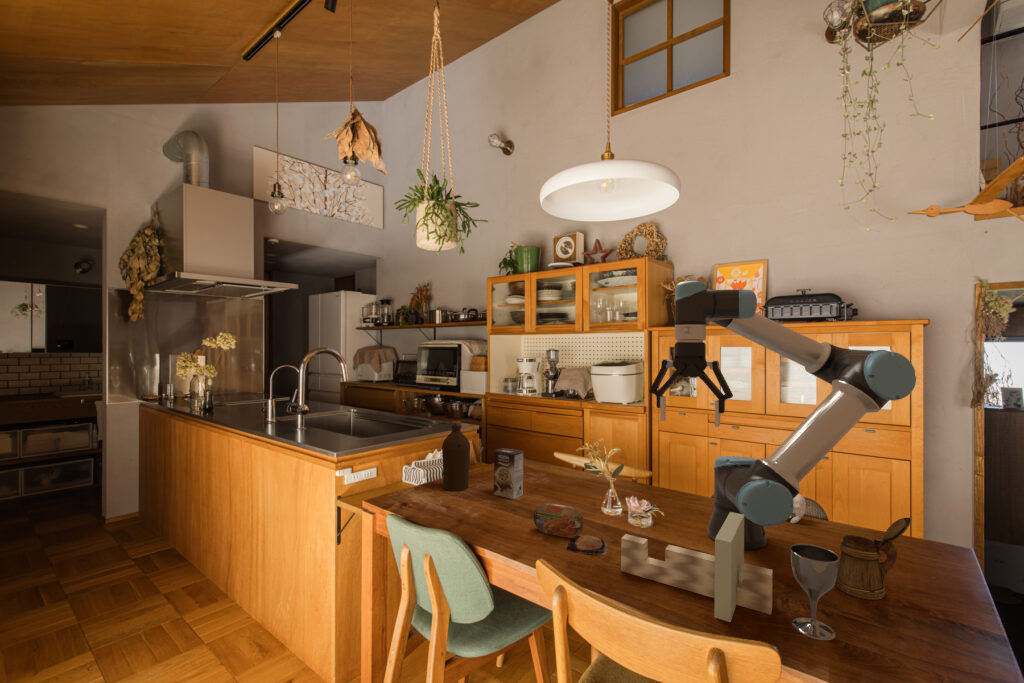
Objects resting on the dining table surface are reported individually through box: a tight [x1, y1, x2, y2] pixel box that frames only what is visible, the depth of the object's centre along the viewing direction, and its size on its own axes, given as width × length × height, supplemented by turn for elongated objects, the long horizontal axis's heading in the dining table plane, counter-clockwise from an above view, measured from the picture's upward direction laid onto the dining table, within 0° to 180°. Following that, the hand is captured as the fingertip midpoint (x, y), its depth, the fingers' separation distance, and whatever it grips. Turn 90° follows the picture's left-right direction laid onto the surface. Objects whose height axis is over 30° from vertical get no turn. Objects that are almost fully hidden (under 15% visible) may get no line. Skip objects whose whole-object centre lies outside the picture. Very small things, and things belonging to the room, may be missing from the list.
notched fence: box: [620, 533, 774, 615], centre depth 106 cm, size 32×3×8 cm, turn 56°
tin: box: [532, 502, 585, 539], centre depth 135 cm, size 15×3×8 cm, turn 63°
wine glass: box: [789, 542, 840, 641], centre depth 91 cm, size 8×8×15 cm
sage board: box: [713, 512, 745, 623], centre depth 101 cm, size 18×3×16 cm, turn 146°
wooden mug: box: [834, 517, 912, 601], centre depth 105 cm, size 9×14×18 cm, turn 61°
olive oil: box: [441, 420, 471, 492], centre depth 177 cm, size 11×11×25 cm
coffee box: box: [493, 447, 524, 500], centre depth 169 cm, size 9×6×16 cm
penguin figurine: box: [788, 493, 807, 524], centre depth 148 cm, size 6×8×12 cm
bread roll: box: [566, 534, 609, 556], centre depth 127 cm, size 11×8×4 cm
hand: (689, 423), depth 121 cm, fingers open, 13 cm apart
